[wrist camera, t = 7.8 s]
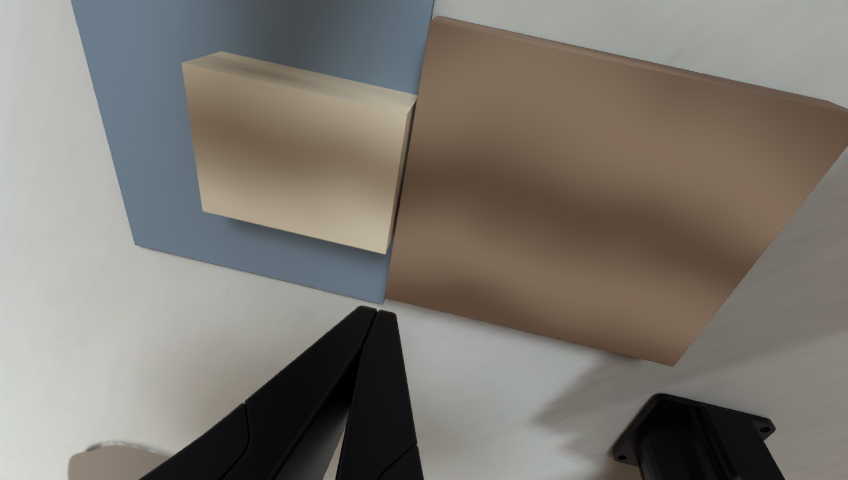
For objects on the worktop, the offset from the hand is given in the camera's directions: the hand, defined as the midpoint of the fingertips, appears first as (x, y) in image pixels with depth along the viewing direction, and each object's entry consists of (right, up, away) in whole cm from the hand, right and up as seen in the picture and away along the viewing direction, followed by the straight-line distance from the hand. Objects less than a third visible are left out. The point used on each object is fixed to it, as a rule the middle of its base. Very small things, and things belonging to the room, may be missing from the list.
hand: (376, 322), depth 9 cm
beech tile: (-4, +5, +7) cm, 10 cm away
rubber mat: (-7, +7, +9) cm, 13 cm away
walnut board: (+7, +3, +9) cm, 12 cm away
